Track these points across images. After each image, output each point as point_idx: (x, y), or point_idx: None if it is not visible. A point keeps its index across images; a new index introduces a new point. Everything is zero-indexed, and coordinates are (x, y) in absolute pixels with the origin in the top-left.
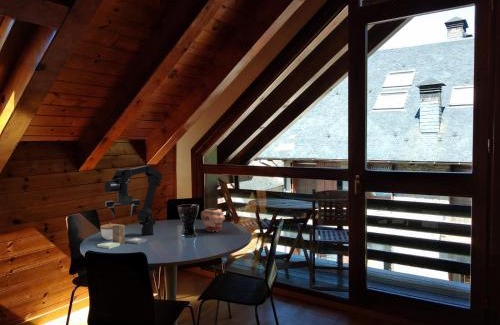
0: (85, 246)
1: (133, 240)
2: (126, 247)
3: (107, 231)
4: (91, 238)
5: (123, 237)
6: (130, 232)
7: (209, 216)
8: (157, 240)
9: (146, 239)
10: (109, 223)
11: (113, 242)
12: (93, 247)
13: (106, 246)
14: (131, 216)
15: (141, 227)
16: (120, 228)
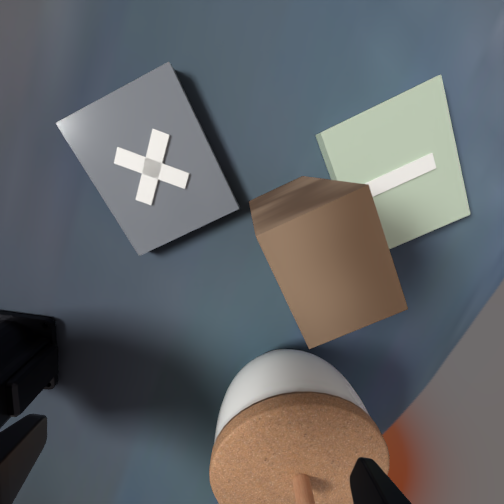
0: (499, 275)
1: (185, 154)
2: (303, 11)
3: (345, 386)
4: None
5: (264, 200)
6: (113, 459)
7: None
8: None
9: (65, 119)
10: (314, 501)
11: None
12: (482, 210)
13: (444, 112)
14: (28, 430)
15: (14, 399)
16: (328, 193)
